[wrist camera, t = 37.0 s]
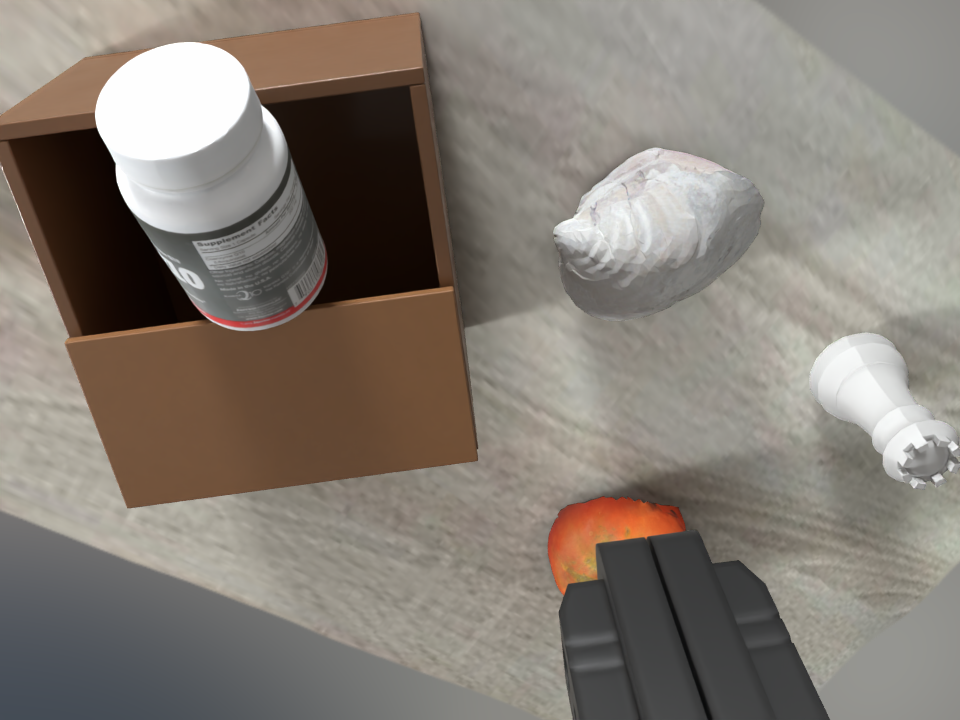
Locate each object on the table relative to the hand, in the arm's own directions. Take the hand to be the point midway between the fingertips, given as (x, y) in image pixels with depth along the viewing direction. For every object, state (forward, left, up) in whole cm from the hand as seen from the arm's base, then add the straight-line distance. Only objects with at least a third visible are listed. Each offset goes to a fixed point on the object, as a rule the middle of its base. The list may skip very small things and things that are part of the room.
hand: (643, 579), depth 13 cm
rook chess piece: (-16, +15, -27) cm, 35 cm away
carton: (+9, +3, -27) cm, 29 cm away
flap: (+9, +6, -17) cm, 20 cm away
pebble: (-6, +6, -27) cm, 28 cm away
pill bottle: (+9, +2, -18) cm, 20 cm away
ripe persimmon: (-4, +24, -27) cm, 36 cm away
